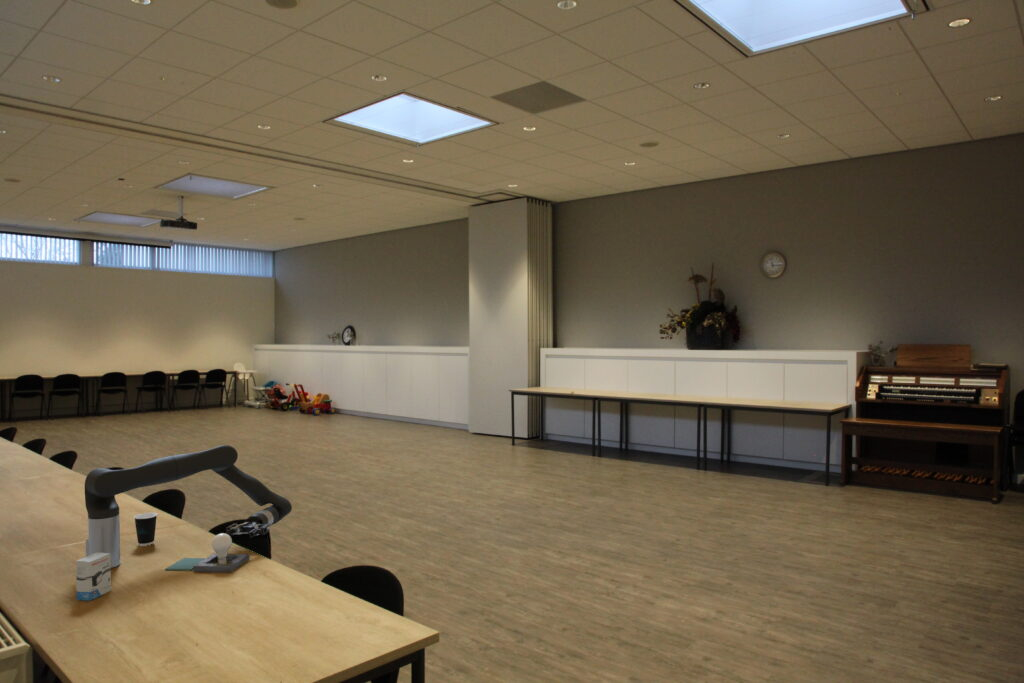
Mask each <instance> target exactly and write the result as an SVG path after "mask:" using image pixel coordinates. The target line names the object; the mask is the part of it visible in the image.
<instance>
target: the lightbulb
mask: <svg viewBox="0 0 1024 683" xmlns="http://www.w3.org/2000/svg"><path fill="white" fill-rule="evenodd" d="M232 539H233V538H232V536H229V535H228V534H226V532H225V533H224V532H220V533H218V534H216V535H215V536H214V537H213V538H212V541H211V548H212V549H213V551H214V553H216V554H217V557H218V562H217V564H227V562H226V556H227V554H229V550H230V549H231V547H232V545H233V540H232Z"/></svg>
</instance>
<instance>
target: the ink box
mask: <svg viewBox="0 0 1024 683" xmlns="http://www.w3.org/2000/svg"><path fill="white" fill-rule="evenodd" d="M75 567H76V568H75V572H76V575H75V576H76V601H89V602H90V601H93V600H95V599H97V598H98V597H100V596H101V597H102V595H105V594H107V593H109V592H112V585H111V584H112V582H111V580H112V579H111V577H112V575H111V574H112V573H111V572H112V570H111V569H112V568H111V565H110V553H94V554H92V555H89V556H87V557H86V556H84V557H82V558H79V559H77V560H76V561H75Z"/></svg>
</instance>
